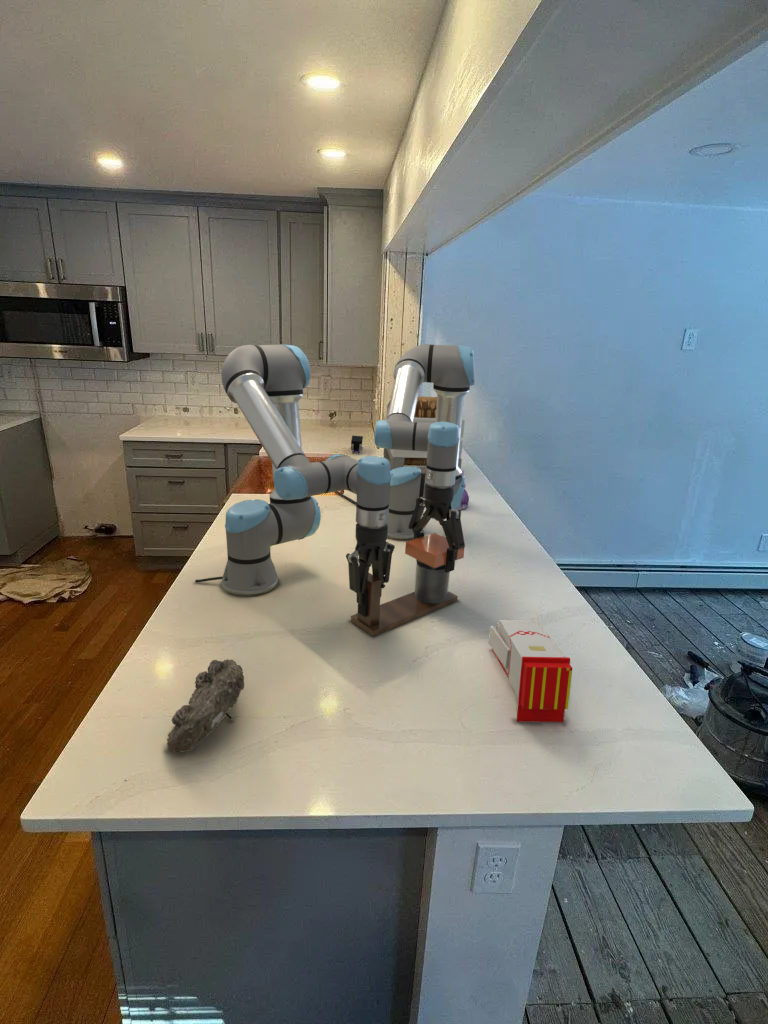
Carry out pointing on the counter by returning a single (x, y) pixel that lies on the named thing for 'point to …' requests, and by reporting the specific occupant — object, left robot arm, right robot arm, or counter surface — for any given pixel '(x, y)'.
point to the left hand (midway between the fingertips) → (368, 612)
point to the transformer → (399, 458)
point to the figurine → (463, 498)
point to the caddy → (405, 600)
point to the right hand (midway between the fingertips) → (433, 563)
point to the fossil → (206, 705)
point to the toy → (533, 669)
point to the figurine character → (356, 443)
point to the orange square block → (430, 549)
